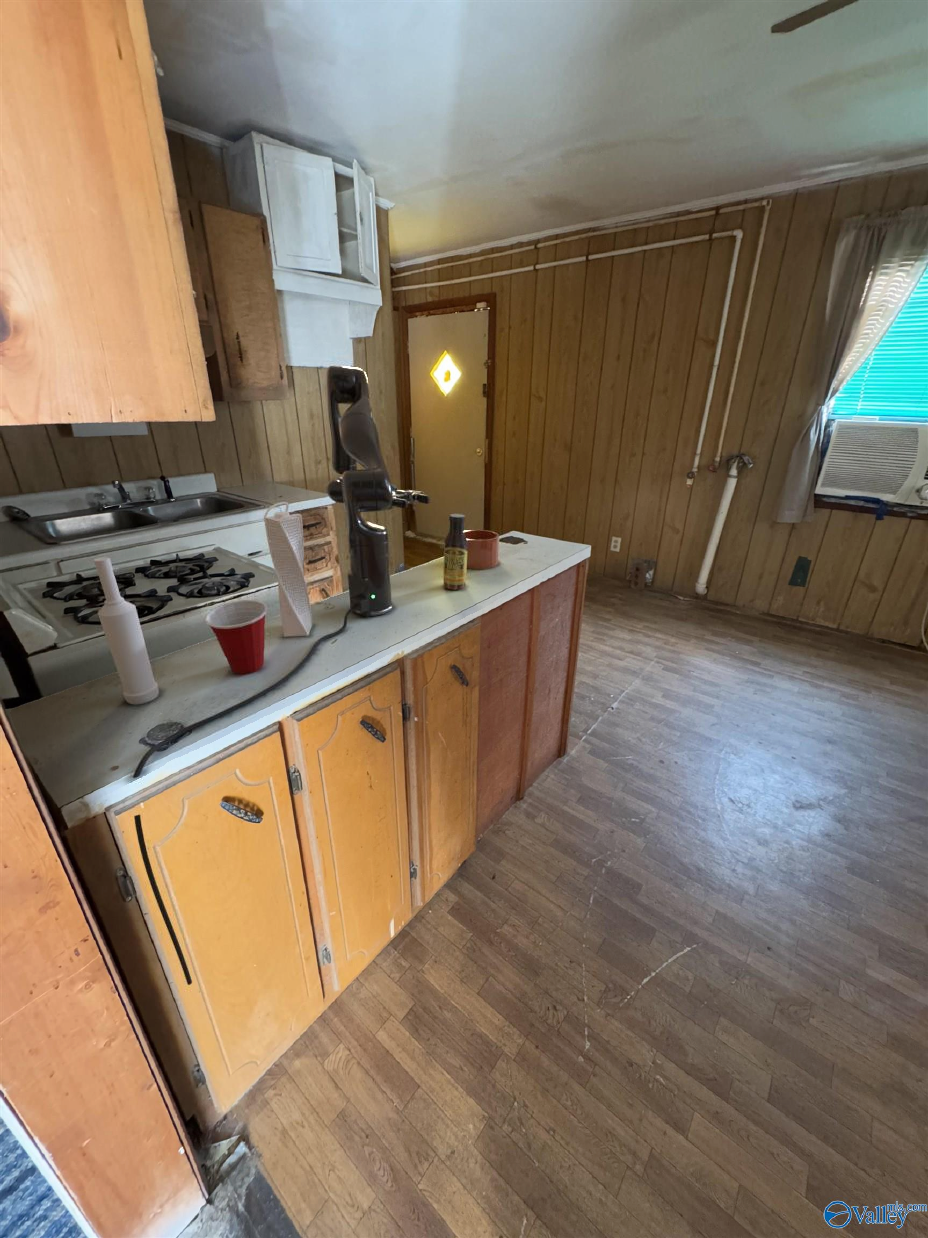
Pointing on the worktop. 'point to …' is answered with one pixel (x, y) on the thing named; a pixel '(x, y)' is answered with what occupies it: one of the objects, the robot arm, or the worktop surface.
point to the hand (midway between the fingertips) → (417, 502)
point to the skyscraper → (289, 570)
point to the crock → (482, 549)
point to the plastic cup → (240, 633)
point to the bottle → (125, 639)
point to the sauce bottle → (455, 554)
